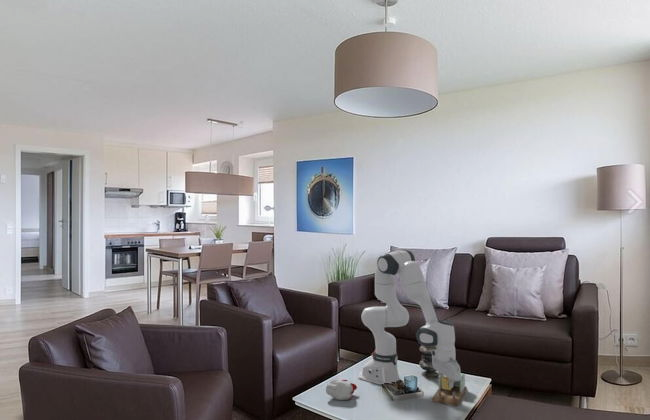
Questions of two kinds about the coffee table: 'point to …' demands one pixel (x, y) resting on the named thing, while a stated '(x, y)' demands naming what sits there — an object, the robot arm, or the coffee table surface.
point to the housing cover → (456, 383)
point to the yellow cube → (445, 383)
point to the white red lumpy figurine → (340, 389)
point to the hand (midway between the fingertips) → (446, 384)
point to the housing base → (449, 396)
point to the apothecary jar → (428, 362)
